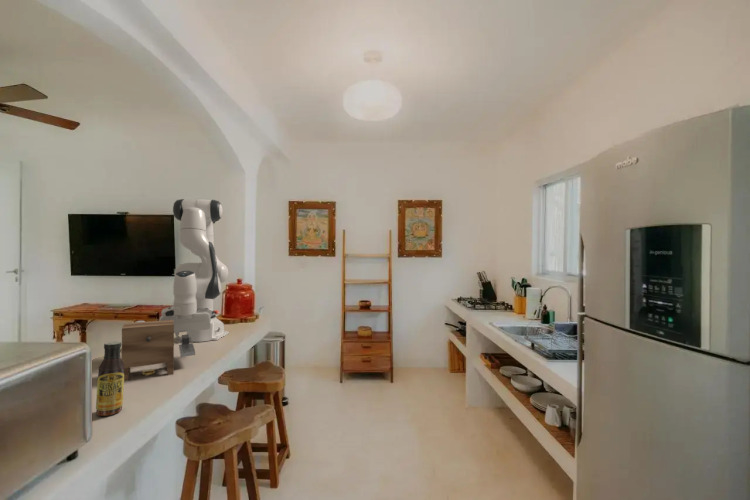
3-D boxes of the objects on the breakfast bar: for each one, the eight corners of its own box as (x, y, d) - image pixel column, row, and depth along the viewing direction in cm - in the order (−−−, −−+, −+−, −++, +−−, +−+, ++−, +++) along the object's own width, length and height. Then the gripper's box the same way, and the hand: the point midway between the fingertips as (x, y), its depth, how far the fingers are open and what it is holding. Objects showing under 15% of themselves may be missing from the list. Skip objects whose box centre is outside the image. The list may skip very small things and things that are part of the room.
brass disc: (148, 372, 141) (148, 368, 141) (157, 372, 140) (157, 369, 140) (139, 375, 137) (139, 372, 137) (149, 376, 136) (149, 373, 136)
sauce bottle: (95, 419, 102) (96, 347, 101) (96, 411, 107) (96, 342, 106) (124, 413, 105) (125, 343, 105) (123, 405, 110) (124, 339, 110)
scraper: (178, 344, 160) (178, 335, 160) (191, 343, 163) (191, 333, 162) (180, 357, 144) (180, 346, 144) (195, 355, 147) (195, 345, 146)
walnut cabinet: (124, 372, 139) (124, 323, 139) (172, 366, 147) (173, 319, 147) (121, 382, 129) (121, 329, 129) (173, 374, 137) (173, 324, 137)
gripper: (210, 306, 166) (210, 336, 167) (157, 310, 156) (158, 343, 156) (212, 308, 161) (212, 340, 161) (157, 313, 150) (158, 347, 151)
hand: (185, 341), depth 159 cm, fingers closed on scraper, 2 cm apart
